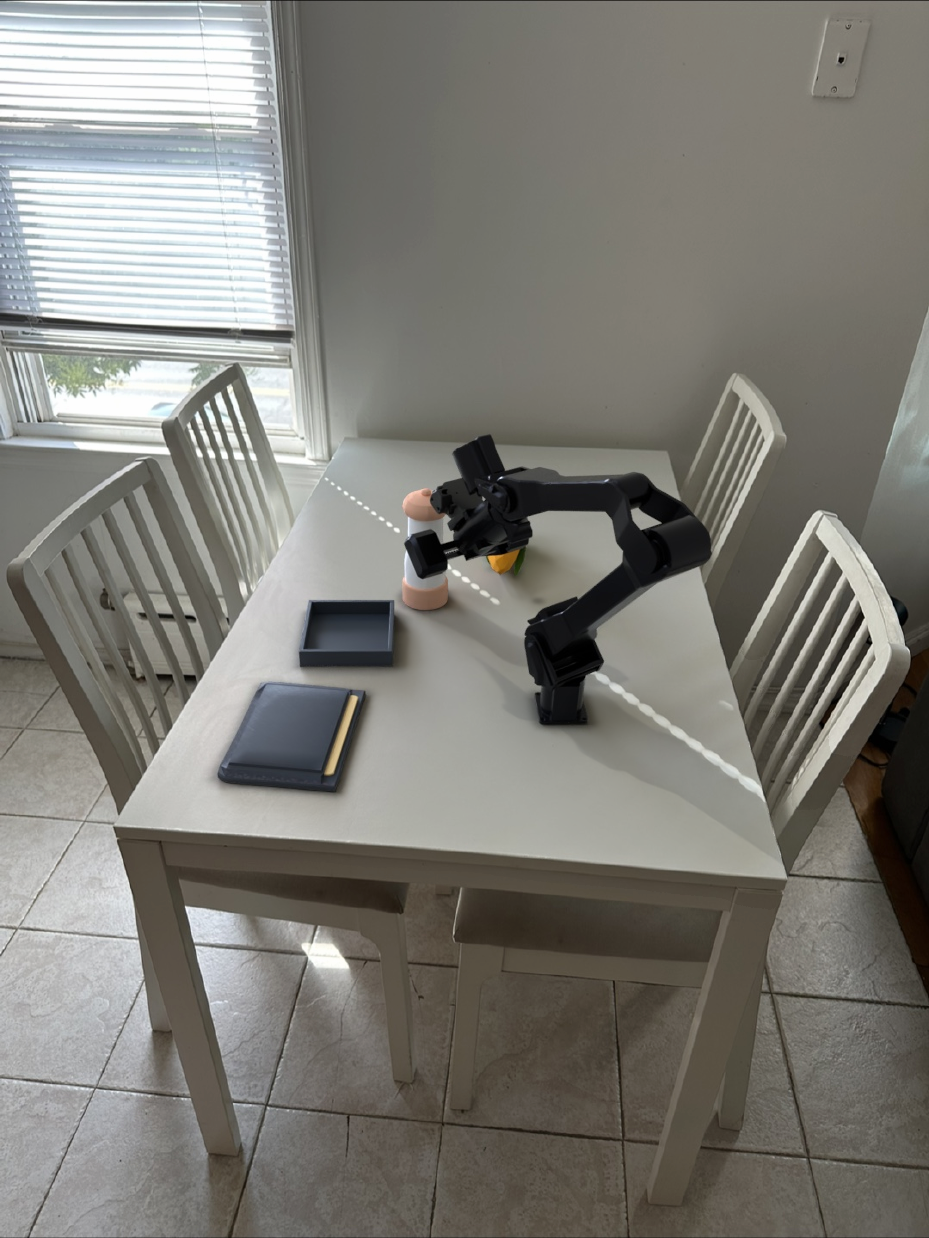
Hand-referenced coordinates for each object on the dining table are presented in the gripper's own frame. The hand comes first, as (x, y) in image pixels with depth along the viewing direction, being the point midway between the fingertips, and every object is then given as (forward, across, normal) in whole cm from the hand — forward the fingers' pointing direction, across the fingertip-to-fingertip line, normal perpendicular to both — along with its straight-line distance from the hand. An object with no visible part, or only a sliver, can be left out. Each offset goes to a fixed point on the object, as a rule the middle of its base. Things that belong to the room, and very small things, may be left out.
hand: (445, 561), depth 139 cm
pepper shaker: (+11, 0, +3) cm, 12 cm away
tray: (+8, +16, +5) cm, 19 cm away
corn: (+14, -19, 0) cm, 23 cm away
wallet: (-3, +32, +17) cm, 36 cm away
